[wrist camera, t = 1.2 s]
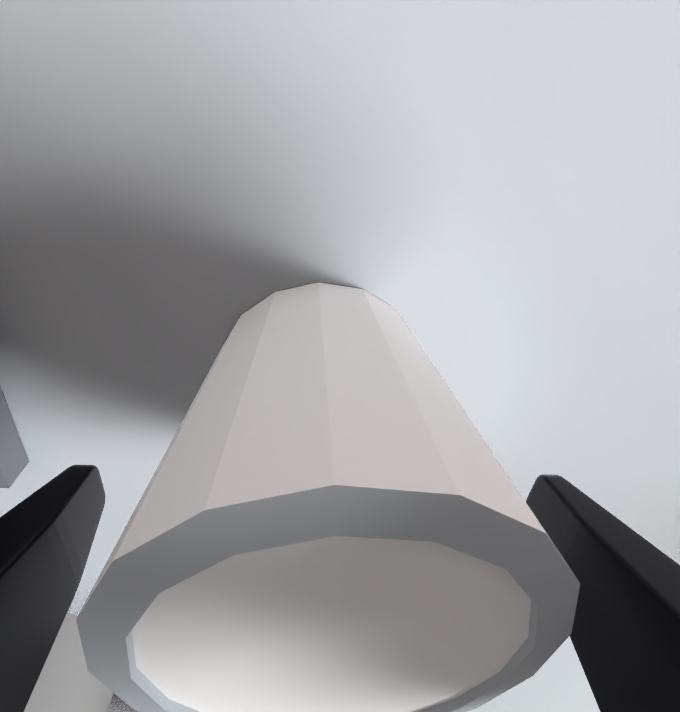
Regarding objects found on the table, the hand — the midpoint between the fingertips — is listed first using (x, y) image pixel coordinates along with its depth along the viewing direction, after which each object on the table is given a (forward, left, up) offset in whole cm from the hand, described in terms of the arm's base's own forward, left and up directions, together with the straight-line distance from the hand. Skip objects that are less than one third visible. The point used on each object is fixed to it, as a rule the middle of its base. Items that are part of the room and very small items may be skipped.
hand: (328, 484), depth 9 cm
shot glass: (0, 0, -4) cm, 4 cm away
